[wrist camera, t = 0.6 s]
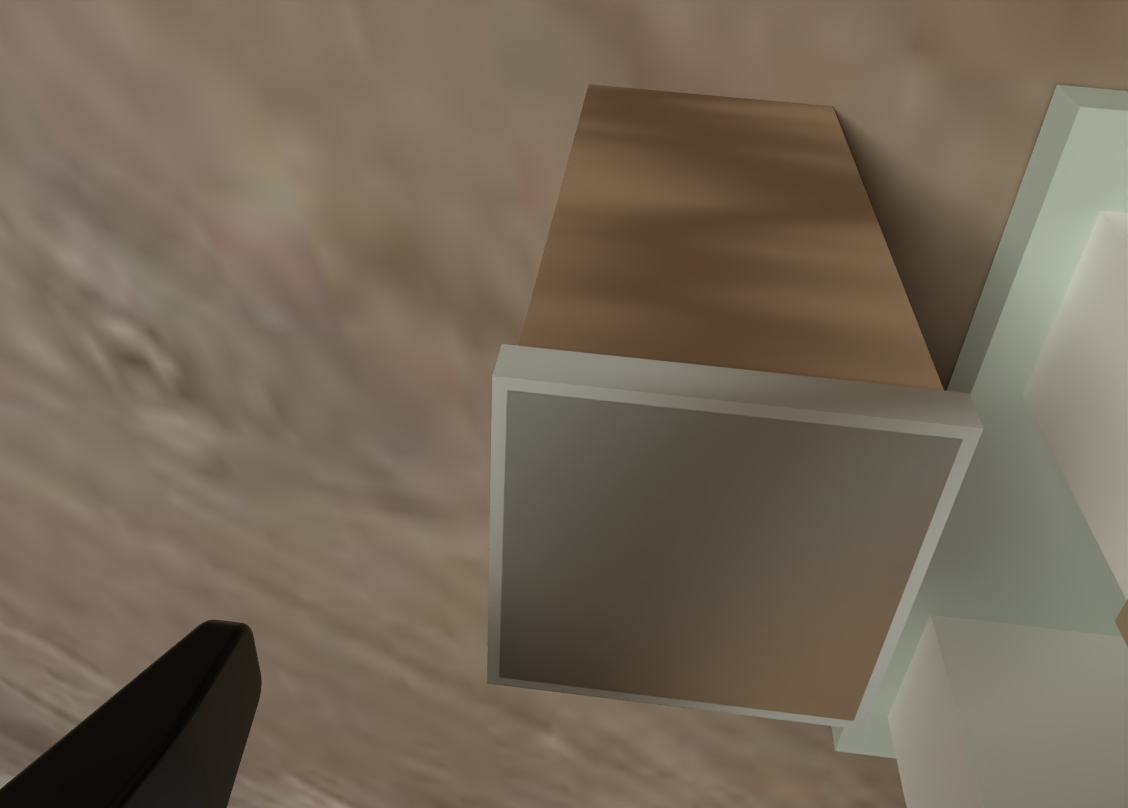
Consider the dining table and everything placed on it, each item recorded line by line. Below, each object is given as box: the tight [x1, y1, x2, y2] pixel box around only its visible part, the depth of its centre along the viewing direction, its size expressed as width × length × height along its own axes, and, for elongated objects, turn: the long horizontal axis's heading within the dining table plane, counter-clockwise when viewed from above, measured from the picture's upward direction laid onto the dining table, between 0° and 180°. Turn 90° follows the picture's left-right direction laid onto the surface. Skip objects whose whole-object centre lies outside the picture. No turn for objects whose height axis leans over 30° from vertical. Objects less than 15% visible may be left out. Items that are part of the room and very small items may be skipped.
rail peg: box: [487, 85, 984, 730], centre depth 15 cm, size 5×5×10 cm
